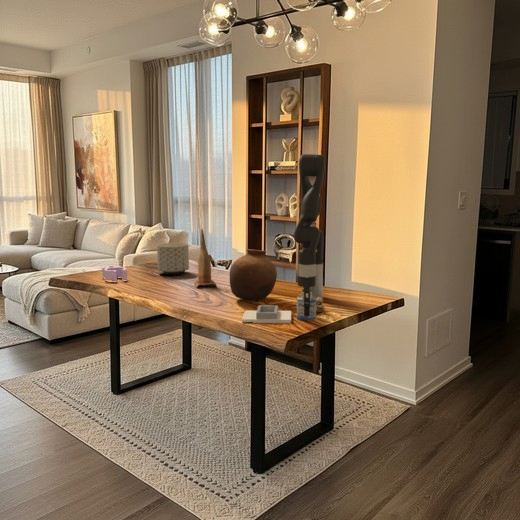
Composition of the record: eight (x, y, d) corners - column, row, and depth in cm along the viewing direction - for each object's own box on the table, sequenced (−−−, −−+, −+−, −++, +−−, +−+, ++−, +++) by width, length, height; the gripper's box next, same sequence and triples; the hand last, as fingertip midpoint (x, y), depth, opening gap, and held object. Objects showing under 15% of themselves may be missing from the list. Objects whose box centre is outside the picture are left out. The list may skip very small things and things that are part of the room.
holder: (245, 313, 223) (245, 304, 222) (291, 314, 221) (291, 305, 221) (242, 322, 209) (241, 313, 208) (290, 323, 208) (290, 313, 207)
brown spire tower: (213, 283, 287) (211, 227, 283) (217, 287, 276) (215, 228, 272) (193, 285, 285) (191, 228, 280) (196, 289, 273) (194, 229, 269)
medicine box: (296, 319, 213) (296, 299, 212) (297, 316, 217) (297, 297, 216) (315, 320, 212) (315, 300, 210) (316, 317, 216) (316, 297, 215)
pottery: (225, 305, 238) (224, 252, 234) (234, 293, 261) (234, 245, 257) (274, 306, 235) (273, 252, 231) (279, 294, 258) (279, 245, 253)
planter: (190, 270, 327) (189, 242, 324) (188, 276, 308) (187, 246, 305) (160, 271, 325) (159, 243, 322) (156, 277, 307) (154, 247, 304)
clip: (97, 278, 304) (96, 267, 303) (117, 276, 312) (116, 264, 311) (110, 284, 289) (110, 272, 288) (131, 281, 296) (130, 269, 295)
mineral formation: (295, 314, 221) (291, 303, 235) (325, 318, 222) (319, 307, 237) (298, 296, 219) (294, 287, 234) (328, 301, 220) (322, 291, 235)
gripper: (297, 271, 219) (297, 309, 222) (297, 277, 205) (297, 318, 207) (315, 271, 218) (314, 309, 221) (316, 277, 204) (316, 318, 207)
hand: (306, 313), depth 214 cm, fingers open, 6 cm apart
